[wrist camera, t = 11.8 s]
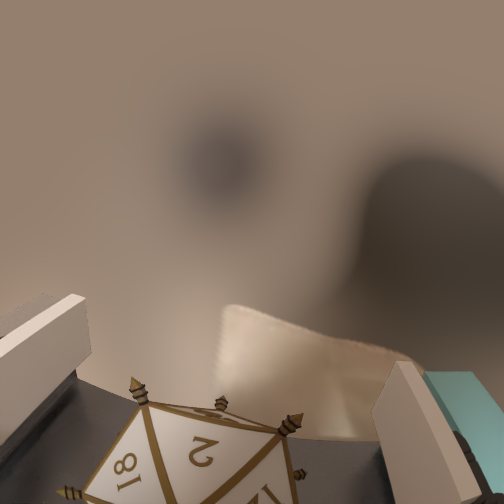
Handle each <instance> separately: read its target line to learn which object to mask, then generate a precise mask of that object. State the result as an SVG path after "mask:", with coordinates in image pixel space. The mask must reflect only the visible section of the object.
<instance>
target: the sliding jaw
mask: <svg viewBox="0 0 504 504" xmlns="http://www.w3.org/2000/svg"><path fill="white" fill-rule="evenodd" d="M422 379H423V380H424V382H425V384H426V386H427V387H428V389H429V391H430V392H431V394H432V396H433V398H434V399H435V401H436V403H437V405H438V406H439V408H440V410H441V412H442V414H443V415H444V417H445V419H446V421H447V423H448V425H449V426H450V428H451V430H452V431H458V432H459V433H460V434H461V435H462V436H463V437H464V438H465V439H466V440H467V442H468V444H469V446H470V448H471V450H472V451H471V452H473V454H474V456H475V457H476V461H478V463H479V465H480V467H481V469H482V472H483V474H484V476H485V478H486V480H487V482H488V484H489V486H490V489H491V490H492V492H493V494H494V493H503V494H504V413H503V412H502V411H501V409H500V408H499V406H498V405H497V404H496V402H495V401H494V400H493V398H492V397H491V396H490V394H489V393H488V392H487V390H486V389H485V388H484V387H483V385H482V384H481V383H480V381H479V380H478V379H477V378H476V376H475V375H474V374H473V373H472V372H471V371H467V372H466V371H465V372H435V371H434V372H433V371H425V372H424V374H423V376H422Z"/></svg>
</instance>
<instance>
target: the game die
mask: <svg viewBox="0 0 504 504" xmlns="http://www.w3.org/2000/svg"><path fill="white" fill-rule="evenodd" d="M144 387H145V384H144V385H143V384H141V383H140V382H138V381H137V380H135V379H134V378H133V377H131V386H130V389H129V391H130V392H131V393H132V394H133V398H134V399H136V400H137V401H138V403H139V405H138V407H137V408H136V410H135V411H134V413H133V414H132V415H131V417H130V418H129V420H128V421H127V423H126V424H125V426H124V427H123V429H122V430H121V432H118V436H117V438H116V439H115V441H114V442H113V444H112V445H111V447H110V448H109V450H108V451H107V453H106V454H105V456H104V457H103V458H102V460H101V461H100V463H99V464H98V466H97V467H96V469H95V470H94V472H93V473H92V475H91V476H90V478H89V479H88V481H87V482H86V484H85V485H84V487H83V488H82V490H77V489H75V488H74V487H73V486H72V488H71V487H67V485H65V487H62V488H60V489H58V490H56V492H57V493H59V494H60V495H62V496H64V497H65V498H66V499H67V500H69V499H73V500H75V499H82V500H84V502H85V503H86V504H299V501H298V495H297V490H296V484H295V480H297V481H300V480H301V479H302V480H304V479H305V476H306V475H307V473H308V472H307V471H305V470H303V469H300V470H296V471H294V472H293V468H292V463H291V458H290V453H289V448H288V443H287V438H286V436H287V435H288V434H289V433H294V432H296V431H295V430H296V429H297V428H301V427H302V426H301V421H302V417H303V413H302V414H297V415H292V416H289V415H287V419H286V420H285V421H284V420H283V421H282V425H281V427H280V428H278V429H276V428H273V427H269V426H266V425H263V424H260V423H256V422H253V421H250V420H247V419H244V418H241V417H239V416H236V415H233V414H230V413H227V412H225V411H224V410H225V409H226V408H227V406H226V405H227V404H228V402H227V401H226V399H225V397H224V395H223V396H222V397H220V398H219V399H216V400H215V401H216V404H215V407H216V409H204V408H195V407H186V406H178V405H171V404H164V403H157V402H152V401H149V400H148V398H147V393H148V391H146V390H145V388H144ZM75 501H76V500H75Z"/></svg>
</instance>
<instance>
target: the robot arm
mask: <svg viewBox="0 0 504 504" xmlns="http://www.w3.org/2000/svg"><path fill="white" fill-rule="evenodd" d="M90 354H91V346H90V338H89V330H88V319H87V308H86V298H84V297H80V296H78V295H75V294H71V295H69V296H68V297H66V298H64V299H63V300H61V301H59V302H58V303H56V304H54V305H53V306H51V307H50V308H48V309H46V310H45V311H43V312H42V313H40V314H38V315H37V316H35V317H34V318H32V319H30V320H29V321H27V322H26V323H24V324H23V325H21V326H20V327H18V328H17V329H15V330H14V331H12V332H11V333H9V334H7V335H5V336H2V337H0V446H1V445H2V444H3V443H4V442H5V441H6V440H7V439H8V437H9V436H10V435H11V434H12V433H13V432H14V431H15V430H16V429H17V428H18V427H19V426H20V425H21V424H22V423H23V421H24V420H25V419H26V418H27V417H28V416H29V415H30V414H31V413H32V412H33V411H34V410H35V409H36V408H37V407H38V406H39V405H40V404H41V403H42V402H43V401H44V400H45V399H46V398H47V397H48V396H49V395H50V394H51V393H52V392H53V391H54V390H55V389H56V388H57V387H58V386H59V385H60V384H61V383H62V382H63V381H64V380H65V379H66V378H67V377H68V376H69V375H70V374H71V373H72V372H73V371H74V370H75V369H76V368H77V367H78V366H79V365H80V364H81V363H82V362H83V361H84V360H85V359H86V358H87V357H88V356H89V355H90ZM371 414H372V418H373V421H374V424H375V428H376V431H377V435H378V438H379V442H380V445H381V449H382V452H383V456H384V459H385V463H386V467H387V471H388V475H389V479H390V483H391V487H392V491H393V495H394V499H395V503H396V504H504V494H503V493H494V494H493V492H492V490H491V489H490V486H489V484H488V482H487V480H486V478H485V476H484V474H483V472H482V469H481V467H480V465H479V463H478V461H476V457H475V456H474V454H473V452H471V451H472V450H471V448H470V446H469V444H468V442H467V440H466V439H465V438H464V437H463V436H462V435H461V434H460V433H459V432H458V431H452V430H451V428H450V426H449V425H448V423H447V421H446V419H445V417H444V415H443V414H442V412H441V410H440V408H439V406H438V405H437V403H436V401H435V399H434V398H433V396H432V394H431V392H430V391H429V389H428V387H427V386H426V384H425V382H424V380H423V379H422V377H421V375H420V374H419V372H418V370H417V369H416V367H415V366H414V364H413V362H412V361H396V362H395V364H394V366H393V368H392V370H391V373H390V375H389V377H388V379H387V381H386V383H385V385H384V387H383V389H382V391H381V393H380V395H379V397H378V399H377V401H376V403H375V404H374V406H373V408H372V410H371Z"/></svg>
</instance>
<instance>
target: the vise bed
mask: <svg viewBox="0 0 504 504" xmlns="http://www.w3.org/2000/svg"><path fill="white" fill-rule="evenodd" d="M59 301H61V300H60V299H57V298H54V297H52V296H49V295H47V294H44V293H43V294H41V295H40V296H38V297H36V298H34V299H32V300H30V301H29V302H27V303H25V304H23V305H21V306H20V307H18V308H16V309H15V310H13V311H11V312H9V313H8V314H6V315H4V316H2V317H1V318H0V337H2V336H5V335H7V334H9V333H11V332H12V331H14V330H15V329H17V328H18V327H20V326H21V325H23V324H24V323H26V322H27V321H29V320H30V319H32V318H34V317H35V316H37V315H38V314H40V313H42V312H43V311H45V310H46V309H48V308H50V307H51V306H53V305H54V304H56V303H58V302H59ZM138 405H139V403H137V402H134V401H131V400H129V399H126V398H123V397H121V396H118V395H115V394H113V393H110V392H108V391H106V390H103V389H101V388H98V387H96V386H94V385H91V384H89V383H87V382H85V381H82V380H80V379H78V378H77V374H76V369H75V370H74V371H73V372H72V373H71V374H70V375H69V376H68V377H67V378H66V379H65V380H64V381H63V382H62V383H61V384H60V385H59V386H58V387H57V388H56V389H55V390H54V391H53V392H52V393H51V394H50V395H49V396H48V397H47V398H46V399H45V400H44V401H43V402H42V403H41V404H40V405H39V406H38V407H37V408H36V409H35V410H34V411H33V412H32V413H31V414H30V415H29V416H28V417H27V418H26V419H25V420H24V421H23V423H22V424H21V425H20V426H19V427H18V428H17V429H16V430H15V431H14V432H13V433H12V434H11V435H10V436H9V437H8V439H7V440H6V441H5V442H4V443H3V444H2V445H1V446H0V504H86V503H85V502H84V500H82V499H75V500H76V501H75V500H73V499H69V500H67V499H66V498H65V497H64V496H62V495H60V494H59V493H57V492H56V490H58V489H60V488H62V487H65V485H67V487H71V488H72V486H73V487H74V488H75V489H77V490H82V488H83V487H84V485H85V484H86V482H87V481H88V479H89V478H90V476H91V475H92V473H93V472H94V470H95V469H96V467H97V466H98V464H99V463H100V461H101V460H102V458H103V457H104V456H105V454H106V453H107V451H108V450H109V448H110V447H111V445H112V444H113V442H114V441H115V439H116V438H117V436H118V432H121V430H122V429H123V427H124V426H125V424H126V423H127V421H128V420H129V418H130V417H131V415H132V414H133V413H134V411H135V410H136V408H137V407H138ZM286 438H287V443H288V448H289V453H290V458H291V463H292V468H293V472H294V471H296V470H300V469H303V470H305V471H307V472H308V473H307V475H306V476H305V479H304V480H302V479H301V480H300V481H297V480H295V484H296V490H297V495H298V501H299V504H396V503H395V499H394V495H393V491H392V487H391V483H390V479H389V475H388V471H387V467H386V463H385V459H384V456H383V452H382V449H381V445H380V442H343V441H322V440H308V439H297V438H288V437H286Z"/></svg>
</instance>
